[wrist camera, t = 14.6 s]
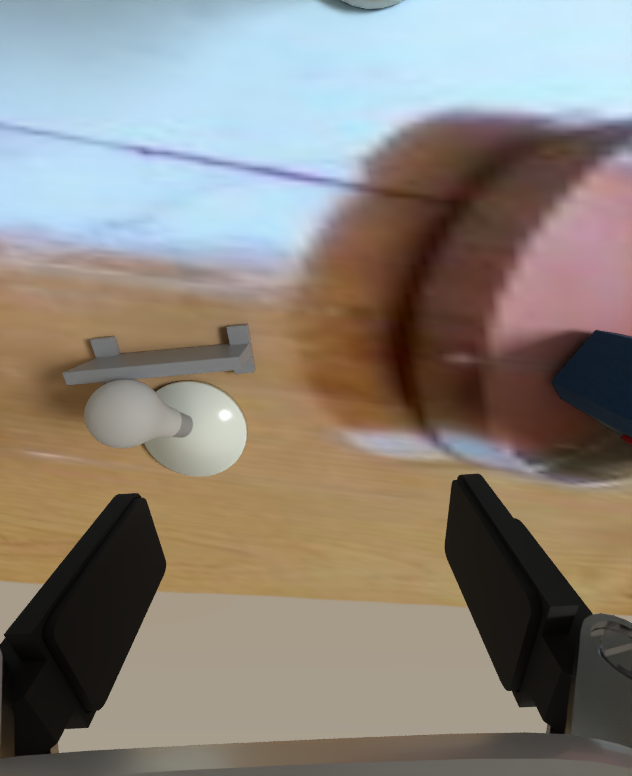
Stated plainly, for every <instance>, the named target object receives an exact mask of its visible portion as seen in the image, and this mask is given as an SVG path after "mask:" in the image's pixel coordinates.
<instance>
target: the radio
mask: <svg viewBox="0 0 632 776" xmlns="http://www.w3.org/2000/svg"><path fill="white" fill-rule="evenodd" d="M551 382H552V384H553V386H554V388H555V389H556V391H557V393H558V395H559V396H560V398H561V399H563V400H564V401H566V402H567V403H569V404H570V405H572V406H574V407H575V408H577V409H578V410H580V411H582V412H583V413H585V414H586V415H588V416H590V417H591V418H593V419H594V420H596V421H598V422H599V423H601V424H602V425H604V426H606V427H607V428H609V429H610V430H612V431H613V432H615V433H617V434H618V435H620V436H621V437H620V438H621V439H623V440H624V441H626V442H628V443H629V444H631V445H632V337H631V336H627V335H623V334H618V333H612V332H605V331H599V330H595V331H594V332H593V334H592V335H591V336H590V337H589V338H588V339H587V341H586V342H585V343H584V344H583V345H582V346H581V347H580V349H579V350H578V351H577V352H576V353H575V354H574V356H573V357H572V358H571V359H570V360H569V361H568V362H567V364H566V365H565V366H564V367H563V368H562V369H561V371H560V372H559V373H558V374H557V375H556V376H555V377H554V379H553V380H552V381H551Z"/></svg>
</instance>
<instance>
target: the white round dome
mask: <svg viewBox="0 0 632 776" xmlns="http://www.w3.org/2000/svg"><path fill="white" fill-rule="evenodd" d="M156 393H157V395H158V396H159V397H160V398H161V400H162V401H163V402H164V403H165V404H166V405H168V406H169V407H172V408H175V409H176V410H178V411H179V412H181V413H184V414H186V415H188V416H190V417H191V418H192V421H193V428H192V431H191V432H190V434H189V435H187V436H186V437H183V438H181V437H180V438H179V437H170V438H154V439H151V440H149V441H147V442H145V443H144V445H145V446H146V448H147V450H148V451H149V452H150V454H151V455H152V456H153V457H154V458H155V459H156V460H157V461H158V462H159V463H161V464H162V465H164V466H165V467H167V468H169V469H170V470H172V471H175V472H177V473H180V474H184V475H188V476H210V475H214V474H217V473H220V472H222V471H224V470H226V469H228V468H229V467H230V466H232V465H233V464H234V463H235V462H236V461H237V460H238V458H239V457H240V455H241V453H242V452H243V449H244V446H245V443H246V439H247V424H246V420H245V417H244V414H243V412H242V410H241V409H240V407H239V405H238V404H237V403H236V402H235V400H234V399H233V398H232V397H231V396H229V395H228V394H227V393H226V392H224V391H223V390H221V389H220V388H218V387H216V386H214V385H211V384H208V383H205V382H201V381H194V380H183V381H177V382H173V383H170V384H168V385H165V386H163V387H162V388H160V389H159V390H157V391H156Z"/></svg>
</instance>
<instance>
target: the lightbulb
mask: <svg viewBox="0 0 632 776" xmlns="http://www.w3.org/2000/svg"><path fill="white" fill-rule="evenodd" d="M84 416H85V424H86V427H87V428H88V430H89V432H90V433H91V435H92V436H93V437H94V438H95V439H96V440H97V441H99V442H101V443H102V444H105V445H107V446H110V447H114V448H130V447H135V446H138V445H140V444H143V443H145V442H147V441H149V440H151V439H154V438H170V437H179V438H180V437H181V438H183V437H186V436H187V435H189V434H190V432H191V431H192V428H193V421H192V418H191V417H190V416H188V415H186V414H184V413H181V412H179V411H178V410H176V409H175V408H172V407H169V406H168V405H166V404H165V403H164V402H163V401H162V400H161V398H160V397H159V396H158V395H157V393H156V392H155V391H154V390H153V389H152V388H150V387H149V386H147V385H146V384H144V383H142V382H139V381H136V380H129V379H123V380H115V381H112V382H109V383H107V384H105V385H103V386H101V387H99V388H98V389H97V390H96V391H95V392H94V393H93V394H92V395H91V397H90V398H89V400H88V402H87V404H86V407H85V412H84Z"/></svg>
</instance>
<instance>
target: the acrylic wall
mask: <svg viewBox="0 0 632 776" xmlns="http://www.w3.org/2000/svg"><path fill="white" fill-rule="evenodd" d="M227 333H228V338H229V343H230V344H220V345H209V346H198V347H187V348H176V349H165V350H154V351H143V352H132V353H121V354H120V352H119V348H118V345H117V342H116V339H115V336H109V337H98V338H93V339H91V340H90V342H91V345H92V348H93V351H94V354H95V357H96V358H94V359H92V360H90V361H87V362H85V363H83V364H81V365H79V366H76V367H74V368H72V369H70V370H67V371H65V372H63V376H64V379H65V381H66V384H67V385H75V384H86V383H98V382H104V384H107V383H109V382H112V381H115V380H123V379H129V380H131V379H142V378H153V377H165V376H176V375H187V374H198V373H209V372H220V371H231V370H234V371H235V374H242V373H253V372H254V371H255V365H254V359H253V352H252V346H251V340H250V334H249V327H248V324H239V325H229V326H227Z"/></svg>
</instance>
